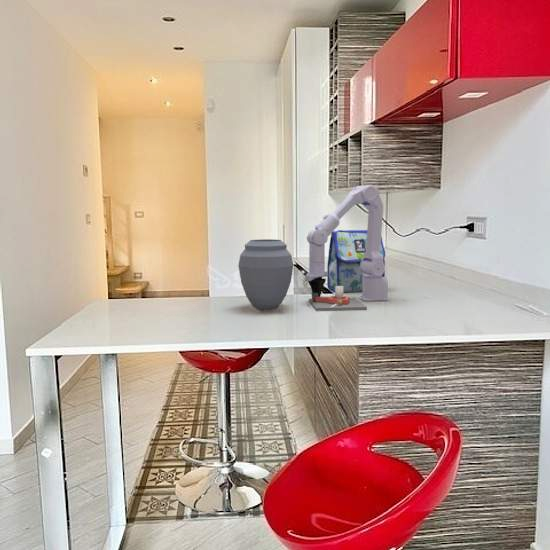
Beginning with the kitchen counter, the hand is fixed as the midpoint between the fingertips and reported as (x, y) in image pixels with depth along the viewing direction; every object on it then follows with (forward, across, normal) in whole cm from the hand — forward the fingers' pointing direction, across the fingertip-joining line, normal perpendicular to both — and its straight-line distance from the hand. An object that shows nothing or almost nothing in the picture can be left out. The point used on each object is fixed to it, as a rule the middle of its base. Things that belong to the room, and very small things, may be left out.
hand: (316, 297), depth 201 cm
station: (+2, 0, +9) cm, 10 cm away
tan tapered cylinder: (+2, +5, +12) cm, 13 cm away
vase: (+2, +18, -11) cm, 21 cm away
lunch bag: (+2, -36, 0) cm, 36 cm away
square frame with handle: (+1, +1, +6) cm, 6 cm away
